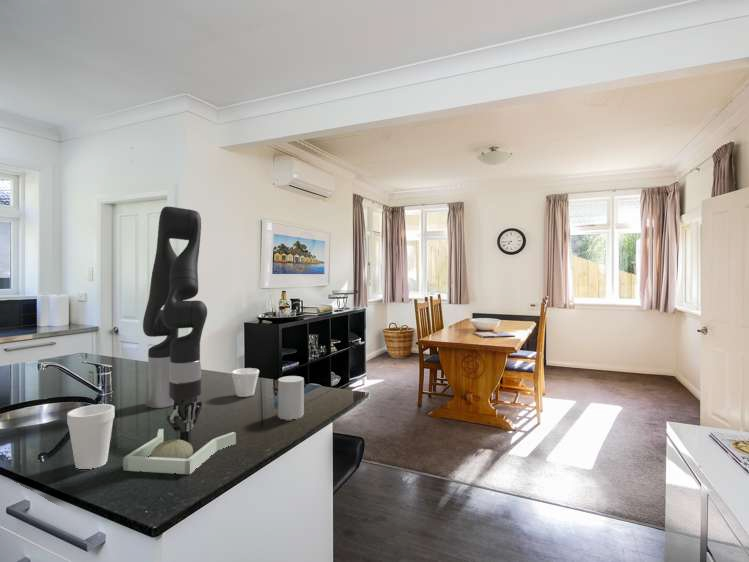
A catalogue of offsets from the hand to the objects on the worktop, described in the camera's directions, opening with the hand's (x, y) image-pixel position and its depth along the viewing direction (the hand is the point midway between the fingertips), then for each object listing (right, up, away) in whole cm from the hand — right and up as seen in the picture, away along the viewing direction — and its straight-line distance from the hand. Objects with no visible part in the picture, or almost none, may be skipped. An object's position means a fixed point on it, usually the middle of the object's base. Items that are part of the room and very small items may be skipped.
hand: (185, 444), depth 108 cm
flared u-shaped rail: (0, -2, -3) cm, 3 cm away
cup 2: (+22, -2, +27) cm, 35 cm away
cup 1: (0, -1, +50) cm, 50 cm away
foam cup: (-19, -2, -8) cm, 21 cm away
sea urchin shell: (-1, -2, -6) cm, 6 cm away
